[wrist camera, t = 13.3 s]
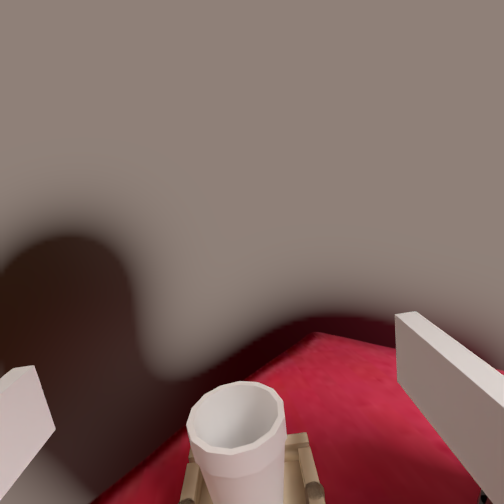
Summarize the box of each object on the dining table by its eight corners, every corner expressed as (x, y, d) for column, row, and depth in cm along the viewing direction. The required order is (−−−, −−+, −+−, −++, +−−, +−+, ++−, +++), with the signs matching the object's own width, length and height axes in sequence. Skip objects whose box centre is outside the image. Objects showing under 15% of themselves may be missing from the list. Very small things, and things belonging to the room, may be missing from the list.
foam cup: (216, 478, 37) (199, 384, 34) (292, 473, 36) (280, 377, 33) (200, 577, 27) (175, 459, 25) (302, 572, 27) (287, 450, 24)
